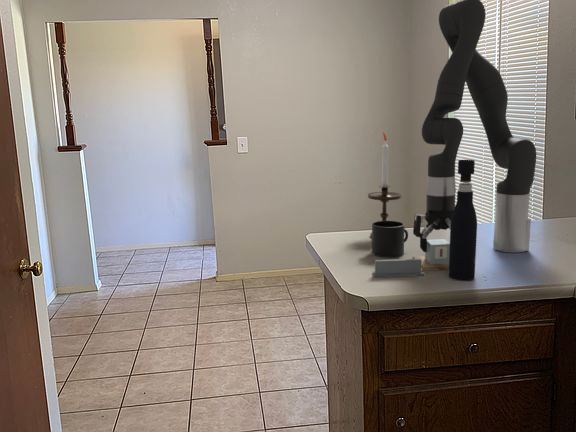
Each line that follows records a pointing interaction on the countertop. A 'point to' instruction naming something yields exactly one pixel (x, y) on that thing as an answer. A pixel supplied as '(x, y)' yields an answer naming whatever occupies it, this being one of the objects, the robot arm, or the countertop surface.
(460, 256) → the wine bottle
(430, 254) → the letter cube
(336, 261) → the countertop surface
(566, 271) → the countertop surface
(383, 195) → the candlestick
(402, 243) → the mug
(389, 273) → the grey angle bar
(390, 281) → the countertop surface
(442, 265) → the coaster
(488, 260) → the countertop surface
